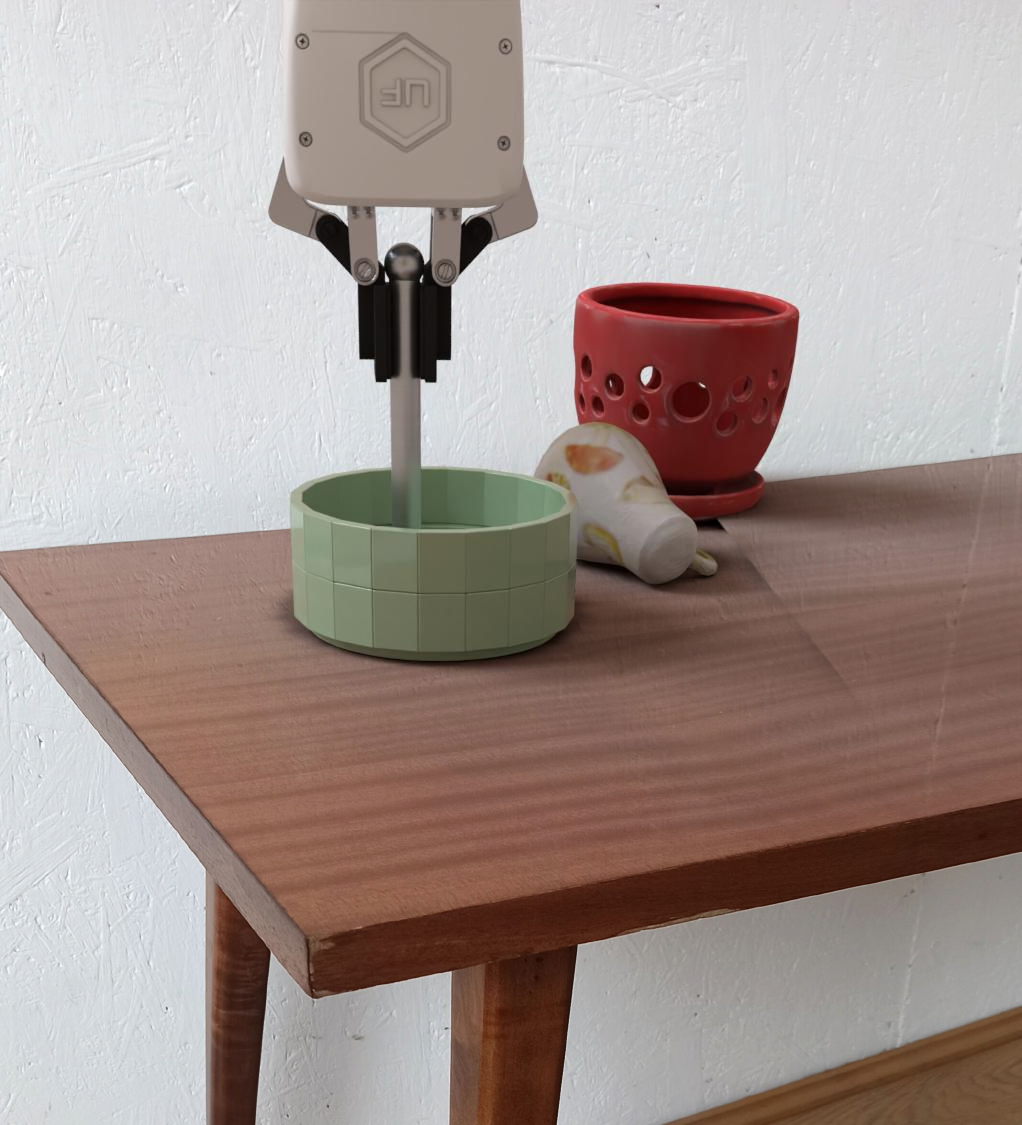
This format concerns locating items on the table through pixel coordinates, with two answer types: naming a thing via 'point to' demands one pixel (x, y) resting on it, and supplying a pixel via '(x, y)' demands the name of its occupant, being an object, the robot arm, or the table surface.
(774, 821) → the table surface
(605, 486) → the mug
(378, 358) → the robot arm
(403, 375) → the ball topped metal stand
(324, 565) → the bowl
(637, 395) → the flower pot
